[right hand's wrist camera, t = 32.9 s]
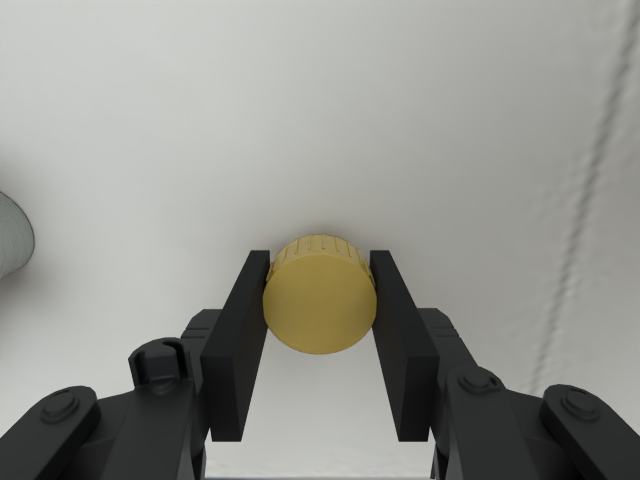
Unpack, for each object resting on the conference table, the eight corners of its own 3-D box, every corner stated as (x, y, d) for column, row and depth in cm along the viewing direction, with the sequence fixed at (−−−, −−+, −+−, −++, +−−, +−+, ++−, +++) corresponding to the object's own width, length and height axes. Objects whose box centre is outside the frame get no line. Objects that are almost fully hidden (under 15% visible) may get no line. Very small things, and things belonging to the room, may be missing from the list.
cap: (280, 332, 15) (274, 363, 14) (257, 242, 14) (247, 263, 12) (377, 317, 15) (385, 347, 13) (363, 224, 14) (370, 242, 12)
